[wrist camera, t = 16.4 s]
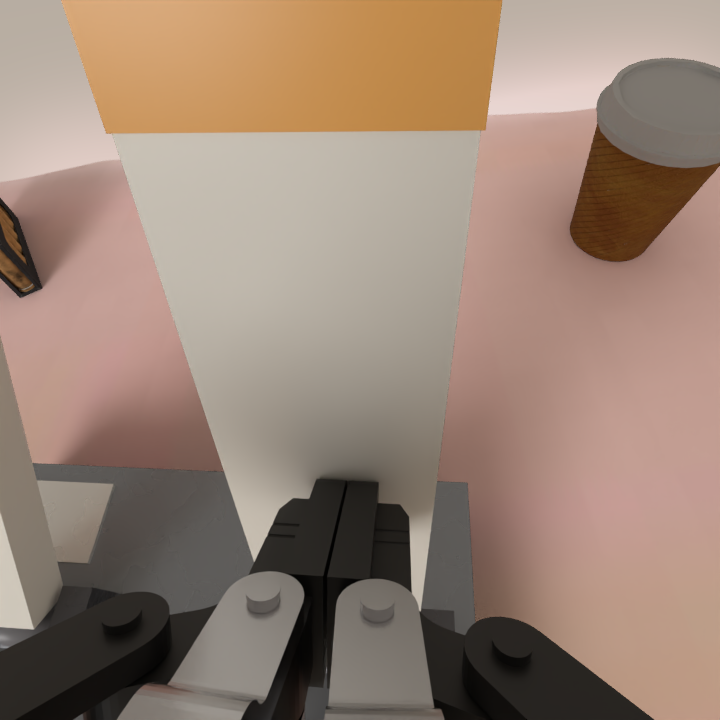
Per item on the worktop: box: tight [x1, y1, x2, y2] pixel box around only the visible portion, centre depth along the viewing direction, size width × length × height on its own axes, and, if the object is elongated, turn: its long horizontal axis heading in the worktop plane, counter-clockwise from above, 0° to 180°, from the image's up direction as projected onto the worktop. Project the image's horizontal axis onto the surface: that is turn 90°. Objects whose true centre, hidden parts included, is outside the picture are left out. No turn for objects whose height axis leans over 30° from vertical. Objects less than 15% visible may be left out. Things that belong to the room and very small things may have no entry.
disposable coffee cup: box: [570, 58, 720, 261], centre depth 35 cm, size 10×10×12 cm
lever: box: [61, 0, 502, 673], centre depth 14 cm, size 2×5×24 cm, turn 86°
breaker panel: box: [0, 463, 475, 720], centre depth 23 cm, size 16×27×7 cm, turn 87°
